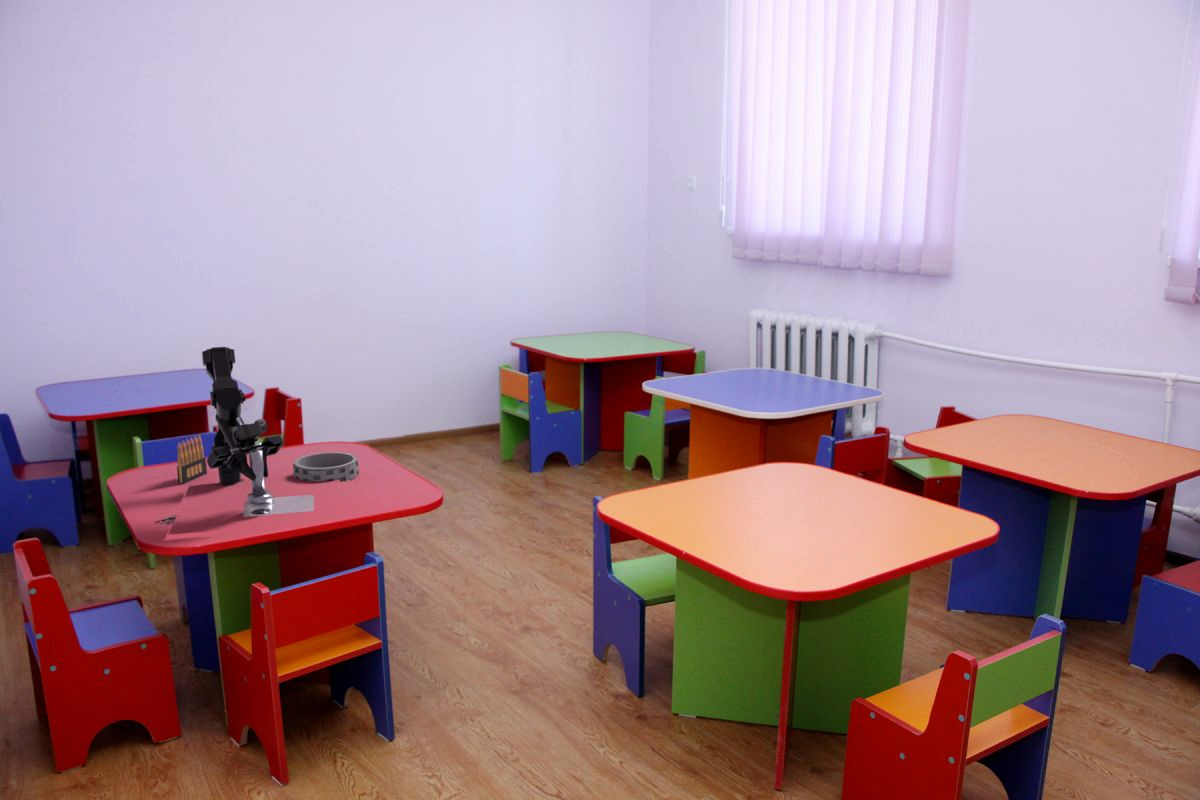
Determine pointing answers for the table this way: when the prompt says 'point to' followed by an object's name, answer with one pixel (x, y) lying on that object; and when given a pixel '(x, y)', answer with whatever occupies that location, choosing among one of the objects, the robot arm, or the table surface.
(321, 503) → the table surface
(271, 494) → the grey metal knob
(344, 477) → the ring
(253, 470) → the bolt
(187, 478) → the ammunition clip
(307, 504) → the plate
